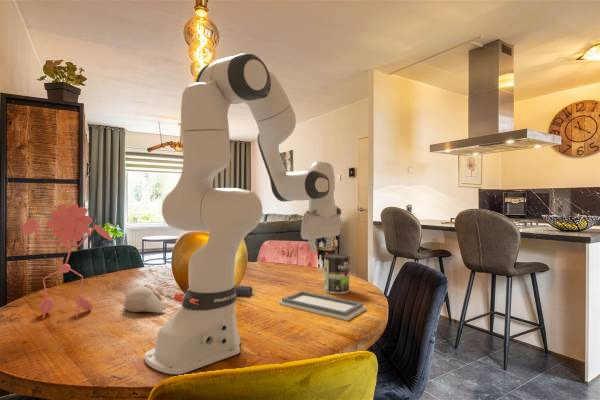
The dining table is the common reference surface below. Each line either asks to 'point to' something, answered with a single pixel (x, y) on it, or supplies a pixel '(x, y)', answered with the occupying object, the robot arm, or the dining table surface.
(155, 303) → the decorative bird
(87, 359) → the dining table surface
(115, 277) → the dining table surface
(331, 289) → the coffee can
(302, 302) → the baseplate tray
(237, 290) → the can opener
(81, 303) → the figurine
